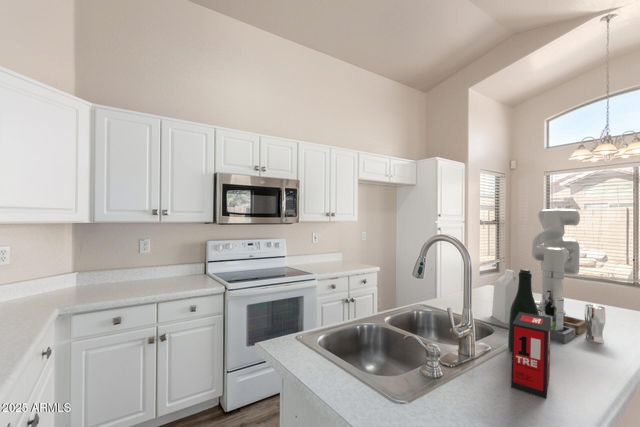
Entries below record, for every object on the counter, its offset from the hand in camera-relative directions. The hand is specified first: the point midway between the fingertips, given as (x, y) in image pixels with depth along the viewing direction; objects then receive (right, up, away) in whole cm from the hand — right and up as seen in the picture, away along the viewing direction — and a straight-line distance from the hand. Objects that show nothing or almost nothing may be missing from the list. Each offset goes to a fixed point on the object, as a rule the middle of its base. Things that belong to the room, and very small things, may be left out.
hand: (552, 313), depth 140 cm
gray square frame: (0, -10, 0) cm, 10 cm away
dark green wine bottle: (-26, -10, -19) cm, 34 cm away
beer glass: (+15, -11, -4) cm, 19 cm away
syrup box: (0, -7, 0) cm, 7 cm away
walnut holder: (+14, -10, +10) cm, 20 cm away
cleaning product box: (-38, -9, -41) cm, 56 cm away
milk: (-7, -10, +21) cm, 24 cm away
